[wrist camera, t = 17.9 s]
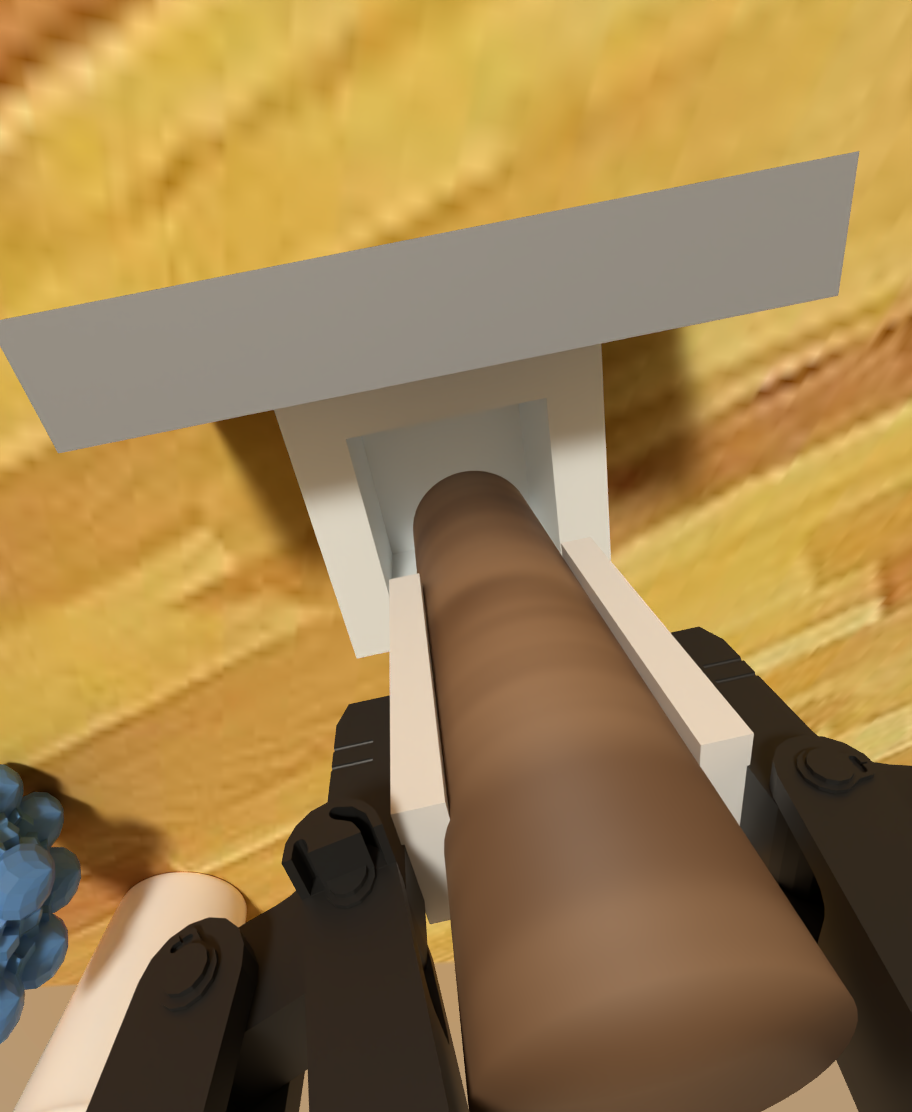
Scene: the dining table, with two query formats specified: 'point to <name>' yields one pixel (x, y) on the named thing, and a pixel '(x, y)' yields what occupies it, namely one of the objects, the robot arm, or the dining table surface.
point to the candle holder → (120, 982)
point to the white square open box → (445, 465)
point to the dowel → (595, 855)
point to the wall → (433, 304)
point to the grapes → (30, 893)
